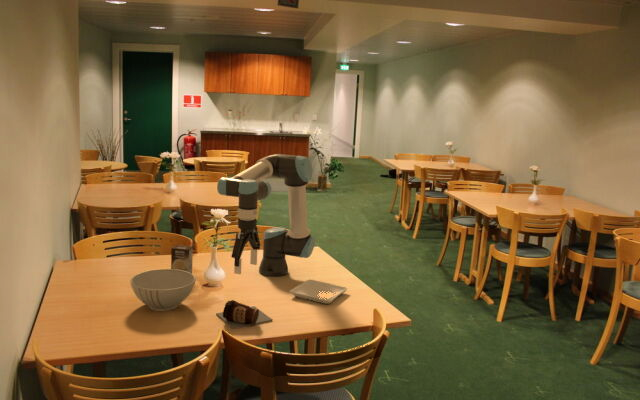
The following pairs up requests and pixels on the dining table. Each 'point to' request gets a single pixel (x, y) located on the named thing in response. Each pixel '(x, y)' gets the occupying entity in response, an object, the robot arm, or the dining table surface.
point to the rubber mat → (234, 325)
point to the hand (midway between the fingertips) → (245, 268)
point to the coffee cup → (240, 313)
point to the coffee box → (182, 258)
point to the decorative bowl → (162, 287)
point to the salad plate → (317, 290)
